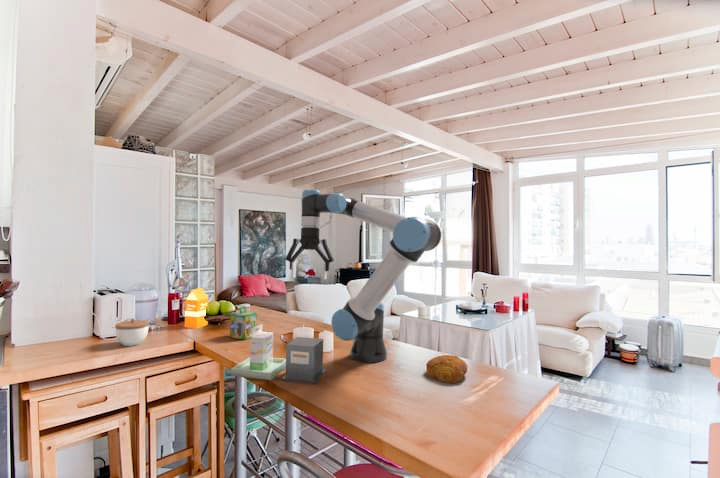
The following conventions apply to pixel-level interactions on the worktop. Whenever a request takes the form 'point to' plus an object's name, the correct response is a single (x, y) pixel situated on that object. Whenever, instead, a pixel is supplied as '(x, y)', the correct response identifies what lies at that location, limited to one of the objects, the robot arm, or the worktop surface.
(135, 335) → the lidded bowl
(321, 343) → the unit
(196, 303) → the orange juice
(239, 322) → the floral tea caddy
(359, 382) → the worktop surface
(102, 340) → the worktop surface
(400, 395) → the worktop surface
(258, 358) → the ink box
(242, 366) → the tray
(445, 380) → the brown rounded lump
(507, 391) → the worktop surface
